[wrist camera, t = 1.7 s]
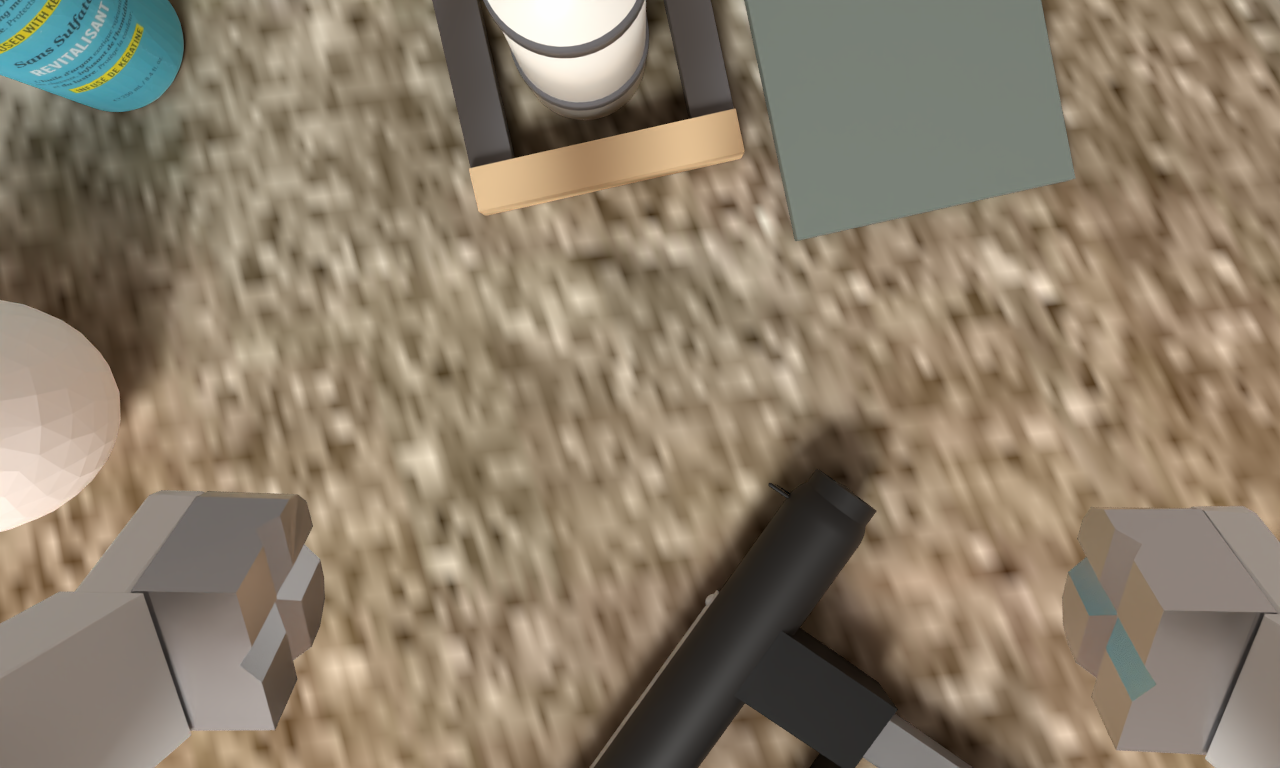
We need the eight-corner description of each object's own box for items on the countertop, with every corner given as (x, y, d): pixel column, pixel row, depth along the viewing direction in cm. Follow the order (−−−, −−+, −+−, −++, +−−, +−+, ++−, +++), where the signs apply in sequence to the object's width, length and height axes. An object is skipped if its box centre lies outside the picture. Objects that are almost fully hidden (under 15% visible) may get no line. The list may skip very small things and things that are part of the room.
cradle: (684, -105, 35) (686, -124, 34) (740, 158, 36) (744, 151, 34) (425, -45, 36) (416, -61, 34) (485, 215, 36) (478, 211, 35)
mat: (1014, -100, 35) (1020, -107, 35) (1067, 180, 36) (1075, 178, 35) (736, -36, 36) (738, -42, 35) (795, 241, 36) (797, 240, 36)
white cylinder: (633, -21, 36) (627, -174, 25) (660, 107, 36) (667, 12, 25) (507, 7, 36) (445, -133, 25) (535, 135, 36) (487, 53, 25)
